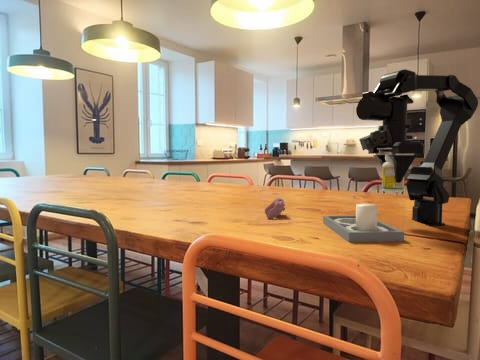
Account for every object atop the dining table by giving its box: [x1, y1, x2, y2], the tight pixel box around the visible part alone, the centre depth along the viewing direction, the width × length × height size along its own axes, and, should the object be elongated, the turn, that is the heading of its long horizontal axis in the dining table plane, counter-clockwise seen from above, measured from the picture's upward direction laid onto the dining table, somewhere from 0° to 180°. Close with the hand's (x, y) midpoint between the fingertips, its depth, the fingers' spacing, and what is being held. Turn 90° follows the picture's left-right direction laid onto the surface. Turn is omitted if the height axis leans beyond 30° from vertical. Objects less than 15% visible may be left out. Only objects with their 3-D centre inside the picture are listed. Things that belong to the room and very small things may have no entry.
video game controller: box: [264, 197, 286, 220], centre depth 110 cm, size 10×5×7 cm, turn 0°
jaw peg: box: [355, 203, 378, 231], centre depth 79 cm, size 5×5×7 cm
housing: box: [322, 214, 405, 243], centre depth 83 cm, size 12×20×3 cm, turn 2°
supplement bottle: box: [381, 155, 405, 193], centre depth 90 cm, size 5×5×10 cm
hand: (392, 181), depth 90 cm, fingers closed on supplement bottle, 5 cm apart
